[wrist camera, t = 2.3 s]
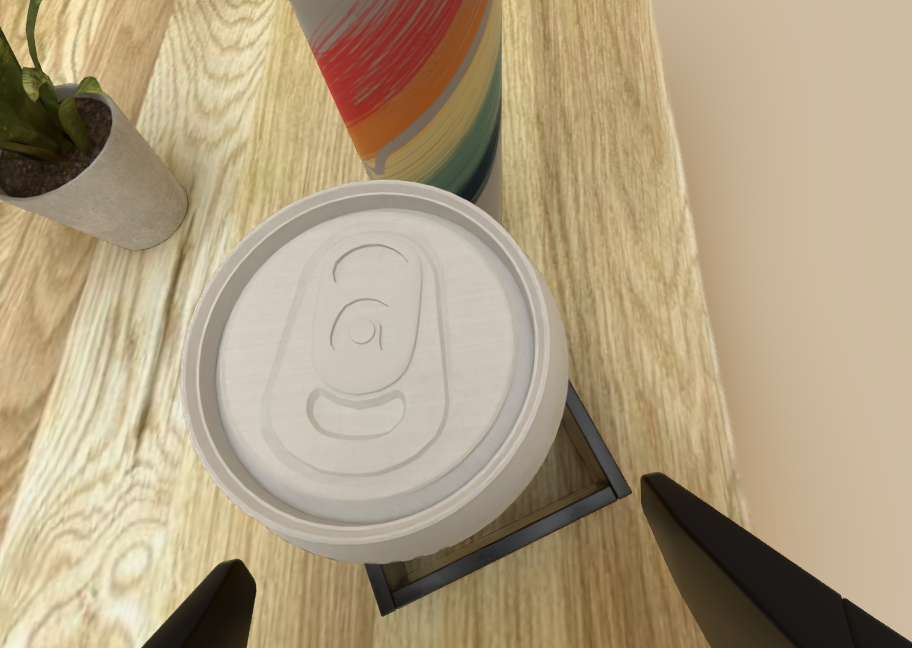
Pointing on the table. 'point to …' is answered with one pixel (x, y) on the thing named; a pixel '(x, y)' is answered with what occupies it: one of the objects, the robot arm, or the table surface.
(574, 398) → the black square frame
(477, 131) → the lotion bottle
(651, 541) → the table surface
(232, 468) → the beer can
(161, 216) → the house plant
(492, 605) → the table surface
